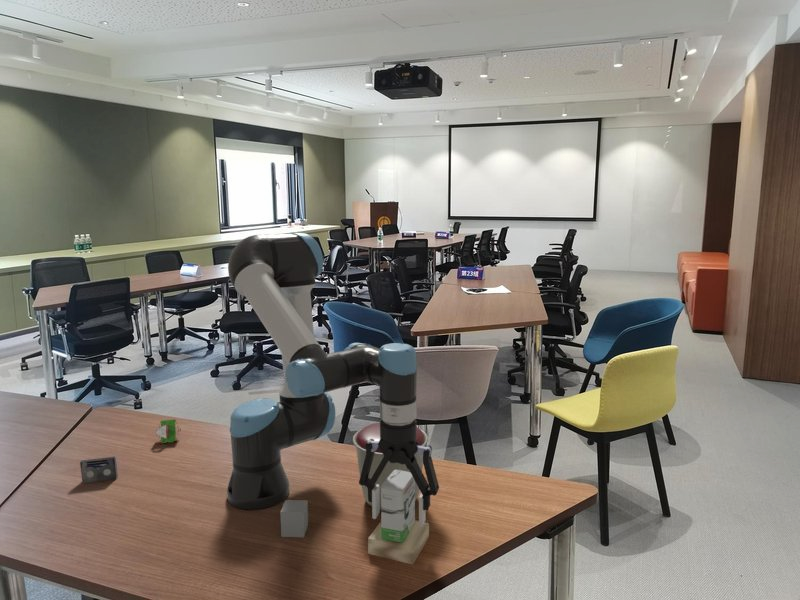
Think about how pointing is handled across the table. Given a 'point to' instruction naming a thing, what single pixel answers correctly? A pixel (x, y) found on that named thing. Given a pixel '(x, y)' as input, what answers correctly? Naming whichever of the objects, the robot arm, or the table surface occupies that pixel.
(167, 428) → the geometric puzzle
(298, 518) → the grey block
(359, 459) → the canister
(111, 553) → the table surface
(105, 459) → the mini dv tape
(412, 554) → the oak block
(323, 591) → the table surface
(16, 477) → the table surface
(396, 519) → the ink box
